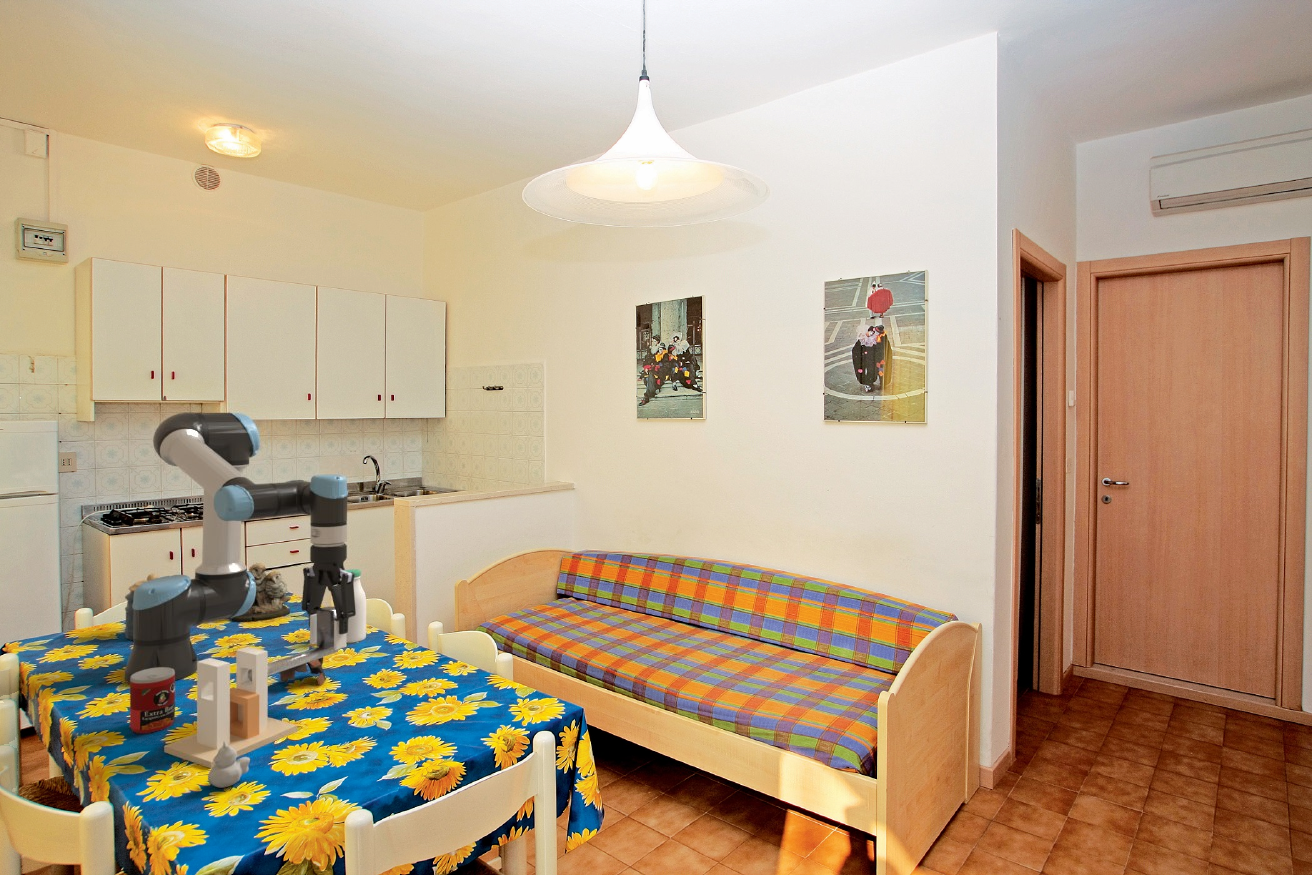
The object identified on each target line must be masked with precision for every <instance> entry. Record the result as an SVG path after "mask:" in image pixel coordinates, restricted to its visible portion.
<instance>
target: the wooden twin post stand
mask: <svg viewBox="0 0 1312 875" xmlns="http://www.w3.org/2000/svg"><path fill="white" fill-rule="evenodd" d="M235 652H236V655H235V656H236V657H235V659H236V661H235V662H236V663H235V664H236V667H235V668H236V675H235V676H236V677H235V679H236V680H235V681H236V684H235V685H236V686H235V688H237V689H240V690H244V691H248V692H251V693H255V694H259V735H257V736H254V737H252V738H249V739H245V738H242V737H239V736H235V735H232V734H230V688H231V662H228V661H223V660H219V659H215V658H212V657H209V658H205V659H202V660H198V662H197V671H196V672H197V673H196V676H197V677H196V678H197V679H196V684H197V685H196V689H197V690H196V694H197V695H196V698H197V700H196V710H197V712H196V721H197V722H196V729H197V730H196V733H195V734H191V735H190V736H187V737H184V738H181V739H178V740H176V741H173V742H170V743H169V744H166V745H164V748H163V749H164V750H163V751H164V753H166V754H169V755H172V756H174V757H177V758H180V759H183V760H185V761H188V762H192V763H194V764H197V765H199V766H204V767H206V768H209V769H210V770H211V769H212V768H213V766H214V765H215V762H214V761H213V759H214V757H215V756H216V755H217V754H218V751H219V749H220V748H221V747H222V746H223V742H225V743H226V744H227V745H228V746H230V747H232V748H234V749H235V750H236V752H237V754H238V756H237V758H239V757H241V756H244V755H245V754H249V753H250V752H252V751H255V750H257V749H260V748H262V747H264V746H267V745H269V744H271V743H274V742H275V741H278V740H280V739H282V738H284V737H285V738H286V737H287V736H290V735H291V734H294V733H296V732H298V725H297V724H293V723H290V722H287V721H283V720H280V719H276V718H273V717H269V716H268V698H269V697H268V693H269V692H268V690H269V689H268V677H269V676H268V661H269V660H268V658H269V657H268V653H269V651H267V650H263V649H259V648H255V647H251V646H246V647H242V648H240V649H239V648H238V649H236V651H235ZM250 669H251V670H252V681H250V680H249V678H248V671H249V670H250ZM238 721H241V722H243V705H241V704H238Z"/></svg>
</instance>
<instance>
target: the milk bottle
mask: <svg viewBox="0 0 1312 875" xmlns="http://www.w3.org/2000/svg"><path fill="white" fill-rule="evenodd" d="M345 571H347V572H349V573H350V572H354V574H355V576H354V582H353V585H354V597H355V610H356V615H355V616H353V617H350V618H349V619H348V632H347V636H346V644H348V643H349V644H350V643H357V642H361V641H363V640H365V639H366V637H367V598H366V592H365V591H364V589H363V587H362V583H361V580H360V579H361V575H362V571H361V570H360V569H357V568H352V569H351V568H350V569H345ZM342 614H343V612H342Z"/></svg>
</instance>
